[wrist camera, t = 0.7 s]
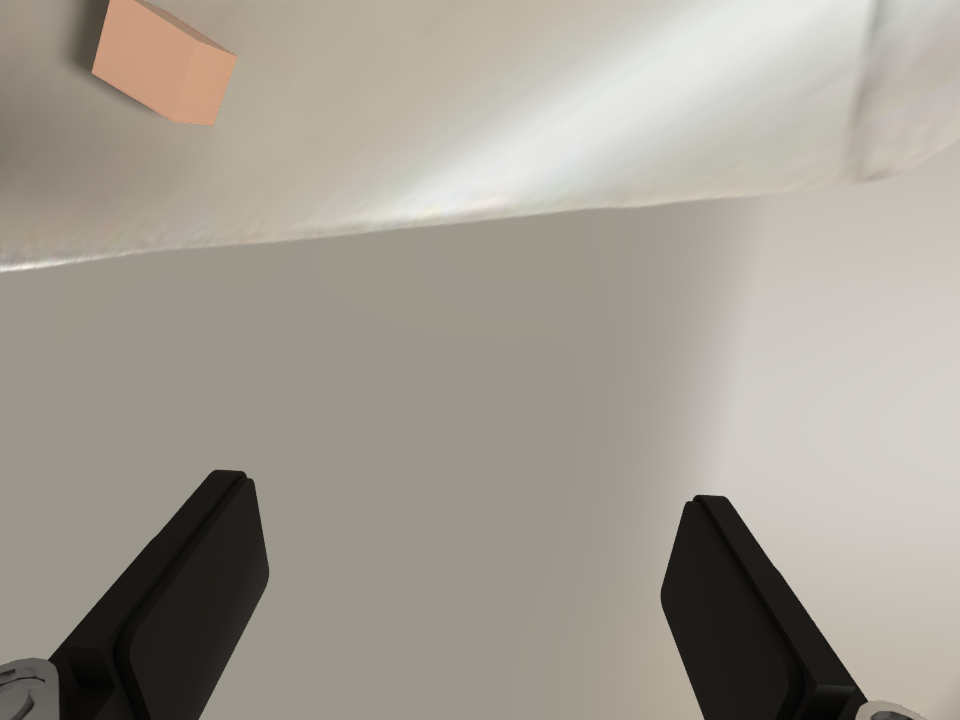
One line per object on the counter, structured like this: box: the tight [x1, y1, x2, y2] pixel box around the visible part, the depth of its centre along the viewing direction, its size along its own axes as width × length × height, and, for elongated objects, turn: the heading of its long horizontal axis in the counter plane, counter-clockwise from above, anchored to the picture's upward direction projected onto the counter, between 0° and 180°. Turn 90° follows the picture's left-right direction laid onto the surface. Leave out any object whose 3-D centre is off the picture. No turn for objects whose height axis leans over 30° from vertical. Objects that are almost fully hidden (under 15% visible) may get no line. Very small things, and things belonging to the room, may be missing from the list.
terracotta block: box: [92, 0, 237, 126], centre depth 31 cm, size 5×5×5 cm
